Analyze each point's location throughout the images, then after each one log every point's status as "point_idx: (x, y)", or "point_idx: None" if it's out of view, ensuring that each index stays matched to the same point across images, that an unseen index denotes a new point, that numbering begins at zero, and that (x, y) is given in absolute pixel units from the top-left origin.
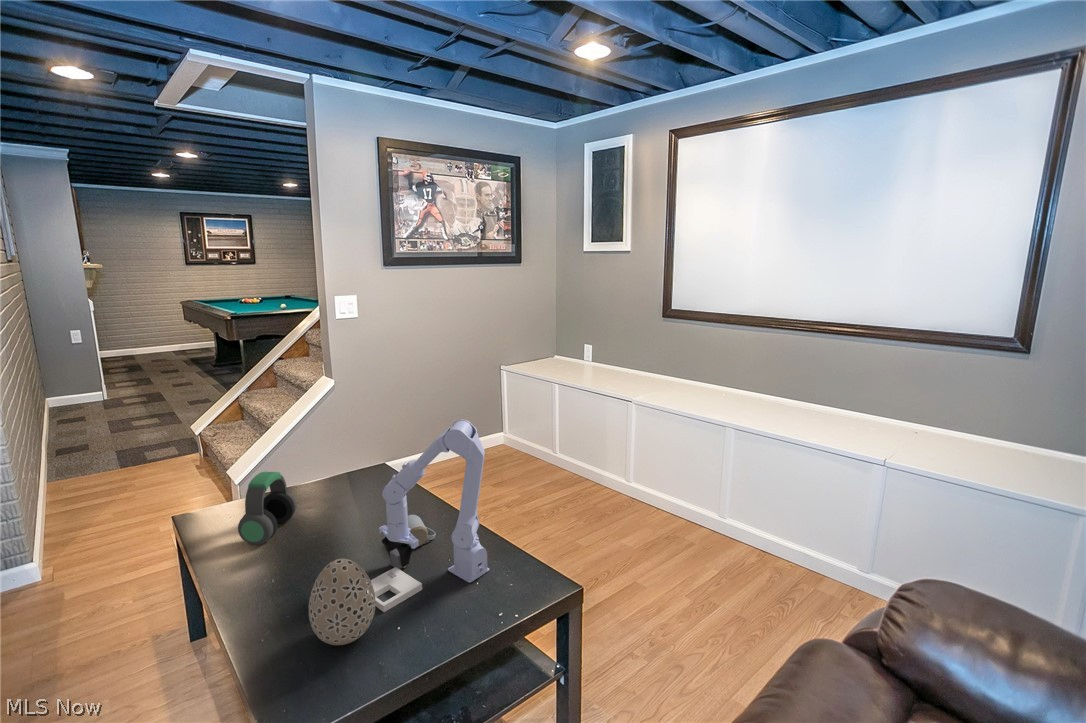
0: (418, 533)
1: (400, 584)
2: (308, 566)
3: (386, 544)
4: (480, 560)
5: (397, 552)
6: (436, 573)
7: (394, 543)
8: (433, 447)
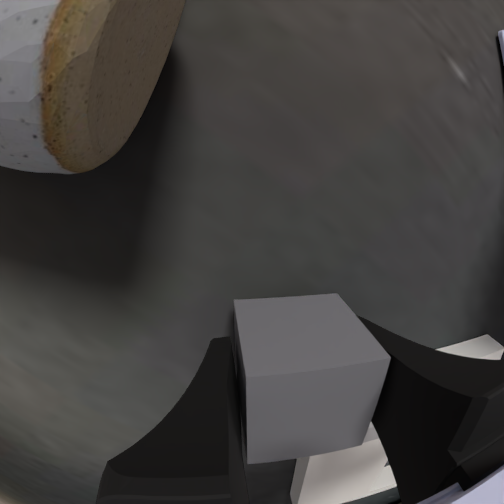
0: (138, 13)
1: None
2: (28, 485)
3: None
4: None
5: (317, 434)
6: (486, 217)
7: (241, 476)
8: None
